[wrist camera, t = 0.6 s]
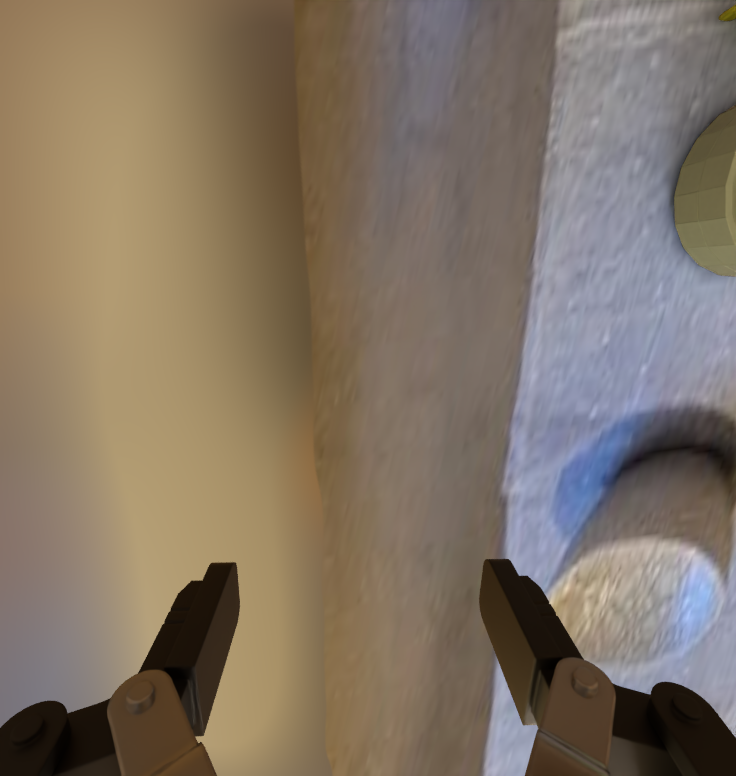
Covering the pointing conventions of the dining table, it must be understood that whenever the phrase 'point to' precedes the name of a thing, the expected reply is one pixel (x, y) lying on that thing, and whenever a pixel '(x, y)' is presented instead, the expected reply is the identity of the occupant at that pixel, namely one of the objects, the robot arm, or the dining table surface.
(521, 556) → the dining table surface
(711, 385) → the dining table surface
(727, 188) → the bowl
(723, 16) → the bird rattle
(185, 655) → the robot arm
